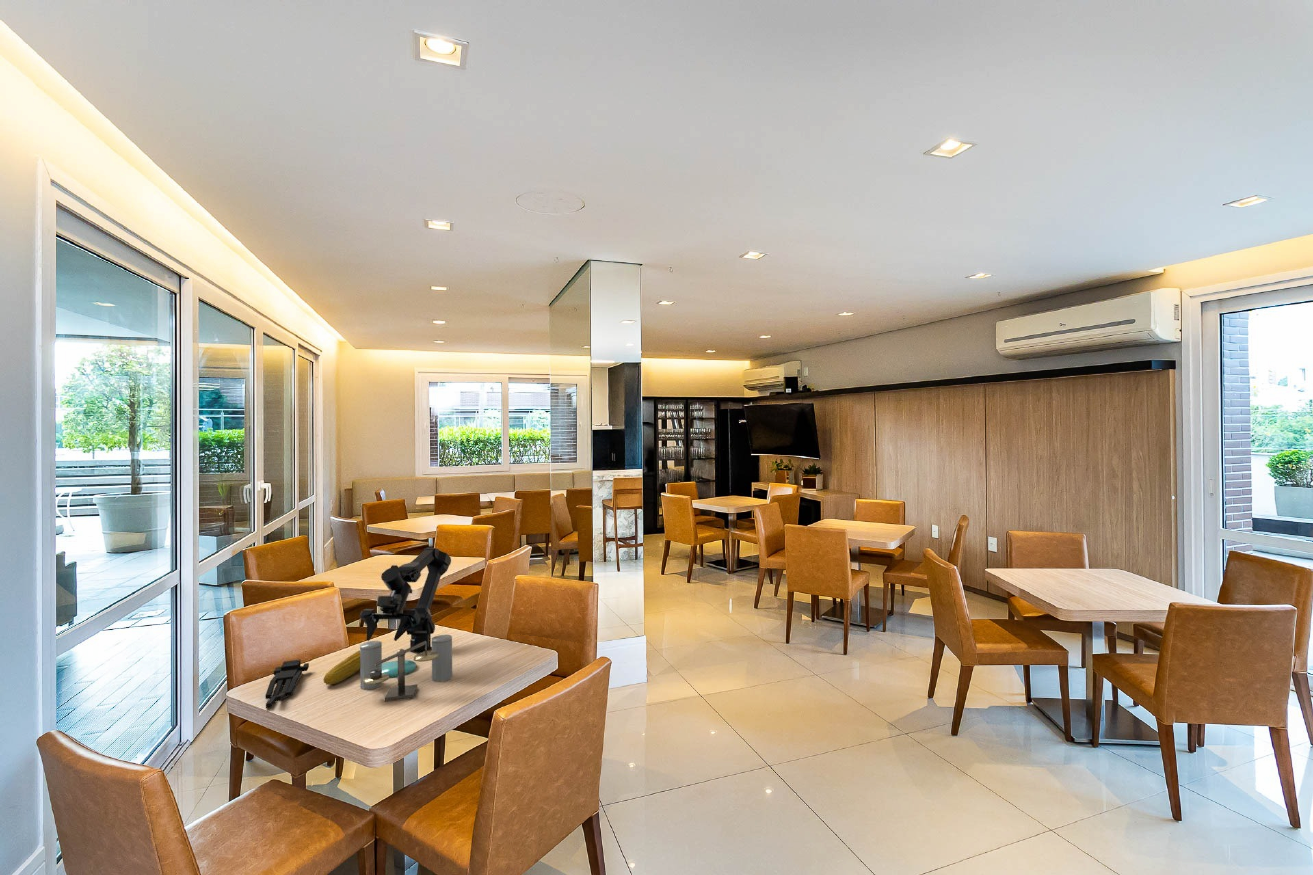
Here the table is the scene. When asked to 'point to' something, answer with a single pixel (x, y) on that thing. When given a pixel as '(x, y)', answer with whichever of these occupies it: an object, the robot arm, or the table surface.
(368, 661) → the cup
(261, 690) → the table surface
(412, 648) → the balance
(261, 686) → the table surface
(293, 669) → the toy
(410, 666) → the dish
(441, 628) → the table surface
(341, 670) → the food
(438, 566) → the robot arm
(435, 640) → the cup
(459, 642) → the table surface
